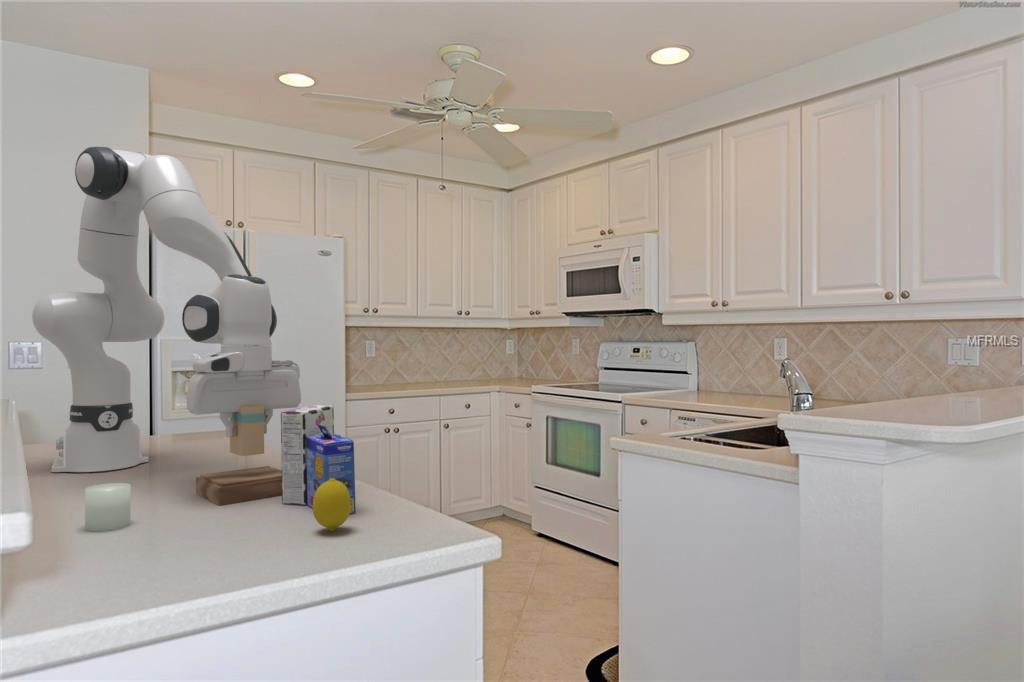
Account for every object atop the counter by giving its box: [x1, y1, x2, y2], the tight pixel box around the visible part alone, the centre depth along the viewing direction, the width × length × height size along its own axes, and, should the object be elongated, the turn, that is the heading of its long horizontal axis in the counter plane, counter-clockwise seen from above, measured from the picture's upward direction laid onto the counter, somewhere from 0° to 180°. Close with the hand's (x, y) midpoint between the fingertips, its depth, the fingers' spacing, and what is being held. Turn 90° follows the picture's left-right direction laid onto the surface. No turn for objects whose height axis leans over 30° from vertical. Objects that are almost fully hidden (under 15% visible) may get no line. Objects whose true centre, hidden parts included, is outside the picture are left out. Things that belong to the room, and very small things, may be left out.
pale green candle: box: [84, 482, 132, 533], centre depth 101 cm, size 6×6×6 cm
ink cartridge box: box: [306, 424, 357, 514], centre depth 112 cm, size 10×6×14 cm, turn 35°
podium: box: [195, 465, 282, 506], centre depth 123 cm, size 12×14×4 cm
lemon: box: [312, 478, 351, 532], centre depth 99 cm, size 6×6×8 cm
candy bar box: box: [280, 404, 335, 506], centre depth 120 cm, size 11×5×16 cm, turn 168°
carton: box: [229, 405, 265, 457], centre depth 123 cm, size 6×4×9 cm
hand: (246, 435), depth 123 cm, fingers closed on carton, 4 cm apart
